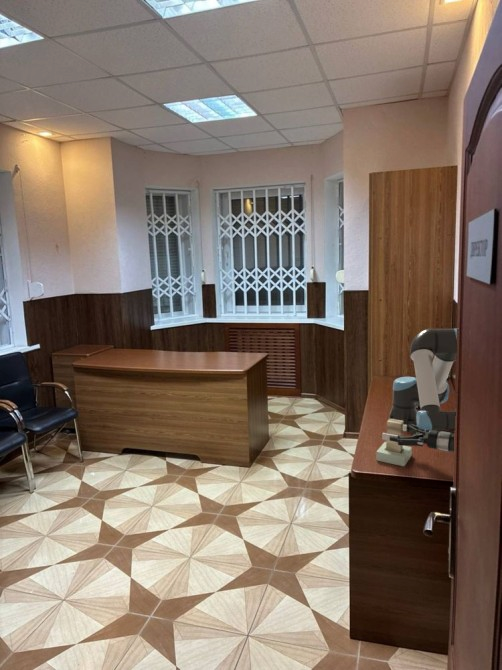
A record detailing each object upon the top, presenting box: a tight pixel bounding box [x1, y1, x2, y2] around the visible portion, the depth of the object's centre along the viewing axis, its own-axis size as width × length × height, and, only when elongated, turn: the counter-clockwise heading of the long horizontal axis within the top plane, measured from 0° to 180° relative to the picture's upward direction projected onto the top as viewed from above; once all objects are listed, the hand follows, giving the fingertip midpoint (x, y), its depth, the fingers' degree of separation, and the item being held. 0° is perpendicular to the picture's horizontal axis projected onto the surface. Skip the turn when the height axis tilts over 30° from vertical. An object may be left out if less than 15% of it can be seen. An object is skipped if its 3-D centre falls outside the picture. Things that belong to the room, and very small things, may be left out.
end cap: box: [375, 441, 413, 467], centre depth 205 cm, size 12×12×4 cm
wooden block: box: [385, 418, 404, 453], centre depth 204 cm, size 4×6×16 cm, turn 57°
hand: (387, 430), depth 205 cm, fingers open, 13 cm apart
